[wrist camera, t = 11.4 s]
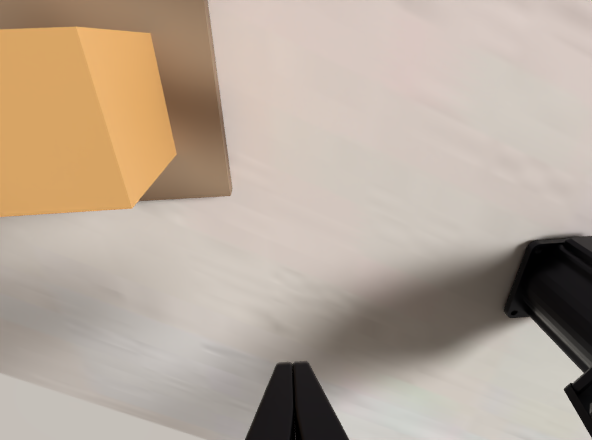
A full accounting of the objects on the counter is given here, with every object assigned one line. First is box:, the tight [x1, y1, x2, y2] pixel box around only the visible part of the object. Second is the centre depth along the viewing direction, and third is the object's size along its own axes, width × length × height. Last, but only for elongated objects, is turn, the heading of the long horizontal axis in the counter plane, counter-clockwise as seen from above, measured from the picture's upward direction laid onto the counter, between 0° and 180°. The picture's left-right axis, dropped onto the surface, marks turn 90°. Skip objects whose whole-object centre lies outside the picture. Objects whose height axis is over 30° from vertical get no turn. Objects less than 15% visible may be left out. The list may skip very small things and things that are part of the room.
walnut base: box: [0, 0, 232, 201], centre depth 15 cm, size 10×10×1 cm
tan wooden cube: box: [0, 27, 177, 217], centre depth 12 cm, size 5×5×6 cm
